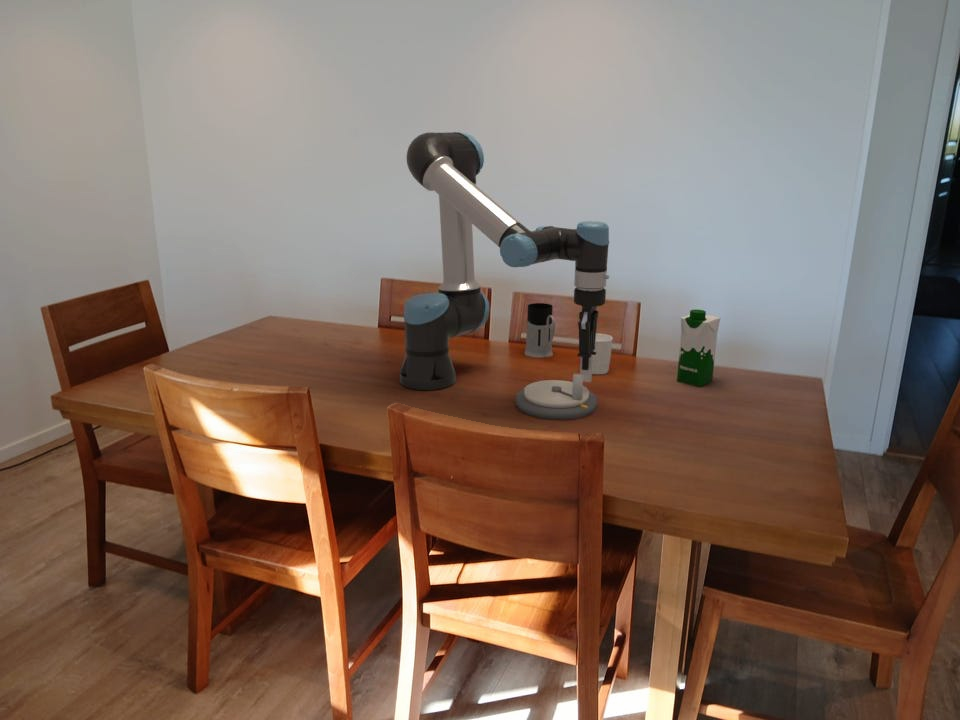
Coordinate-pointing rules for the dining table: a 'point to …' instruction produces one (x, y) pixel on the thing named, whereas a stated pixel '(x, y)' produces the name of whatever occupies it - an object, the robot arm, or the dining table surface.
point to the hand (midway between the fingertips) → (585, 380)
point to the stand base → (556, 412)
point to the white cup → (602, 354)
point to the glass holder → (539, 330)
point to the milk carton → (697, 348)
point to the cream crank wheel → (557, 393)
